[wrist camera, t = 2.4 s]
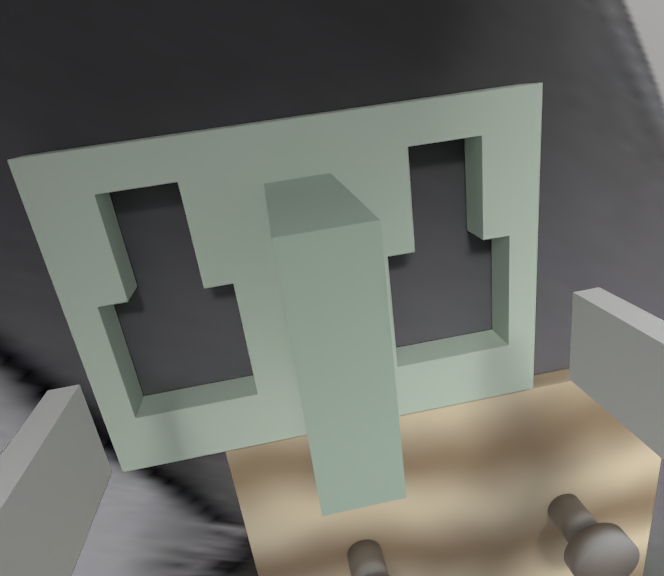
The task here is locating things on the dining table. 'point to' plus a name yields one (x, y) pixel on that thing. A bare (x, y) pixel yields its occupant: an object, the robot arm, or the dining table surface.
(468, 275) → the dining table surface
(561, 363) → the dining table surface
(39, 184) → the panel
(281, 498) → the boss board
